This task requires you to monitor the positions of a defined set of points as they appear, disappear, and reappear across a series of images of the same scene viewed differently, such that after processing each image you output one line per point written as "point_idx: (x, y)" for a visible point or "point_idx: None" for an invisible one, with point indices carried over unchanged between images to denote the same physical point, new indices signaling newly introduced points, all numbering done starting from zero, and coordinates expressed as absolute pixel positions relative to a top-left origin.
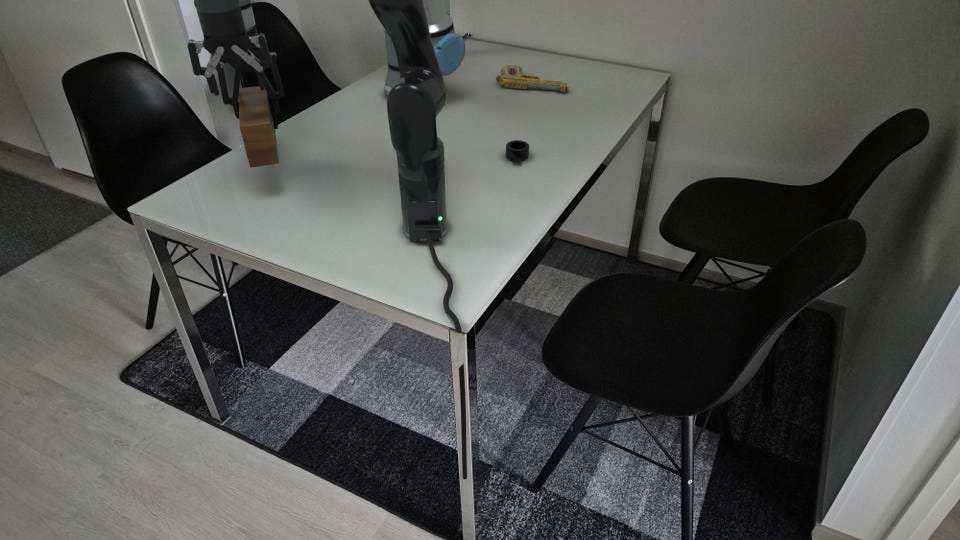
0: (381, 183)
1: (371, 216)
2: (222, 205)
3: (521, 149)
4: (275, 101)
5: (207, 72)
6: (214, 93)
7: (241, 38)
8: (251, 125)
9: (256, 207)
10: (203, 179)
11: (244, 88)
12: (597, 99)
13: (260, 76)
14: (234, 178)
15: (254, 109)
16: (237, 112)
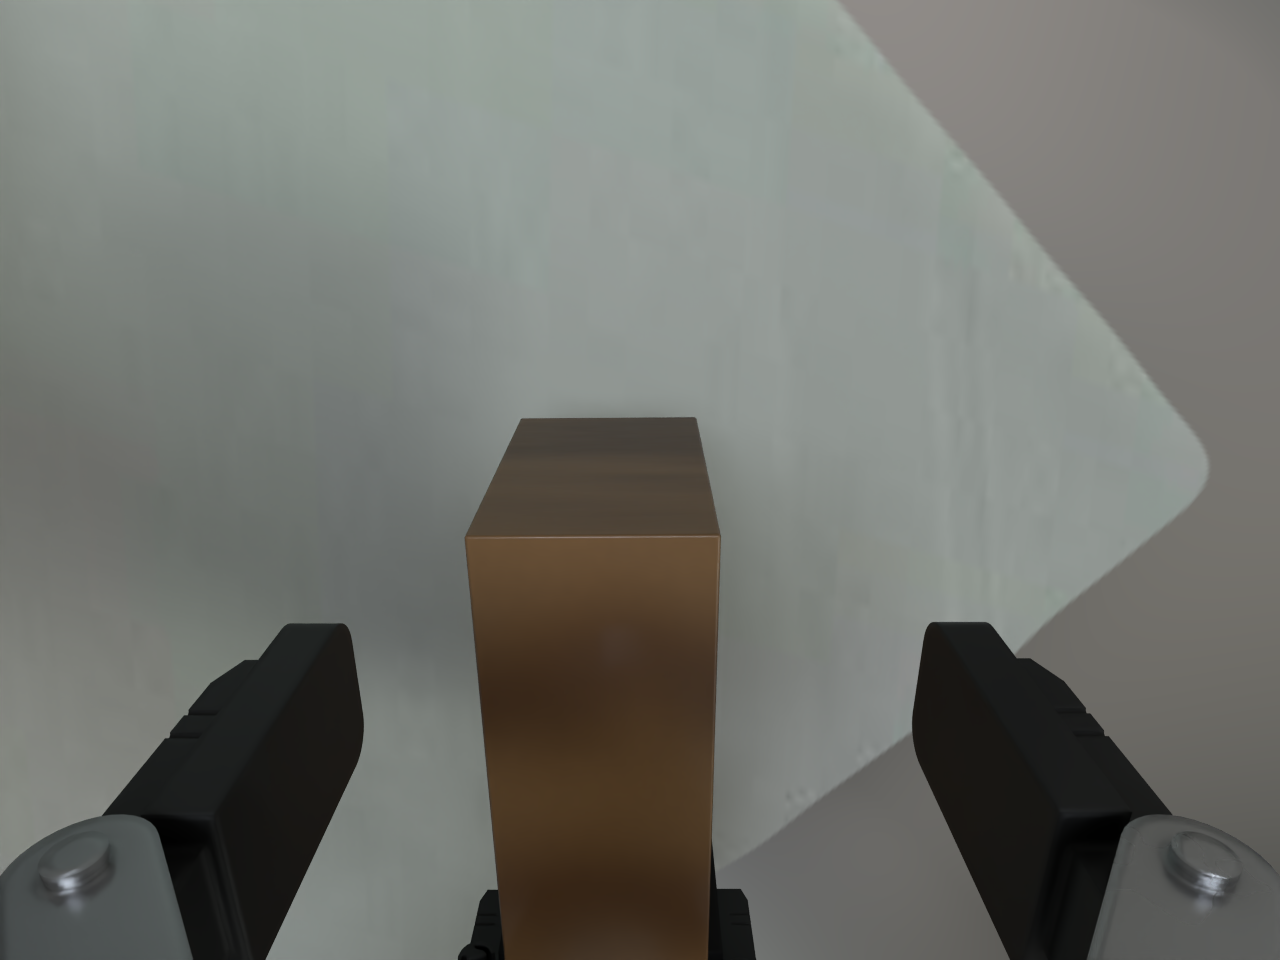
0: (86, 397)
1: (114, 72)
2: (856, 410)
3: None
4: (472, 949)
5: (1230, 908)
6: (993, 637)
7: None
8: (620, 535)
9: (701, 344)
10: (920, 660)
11: None
12: None
13: (196, 759)
14: (786, 633)
15: (596, 800)
16: (733, 924)
